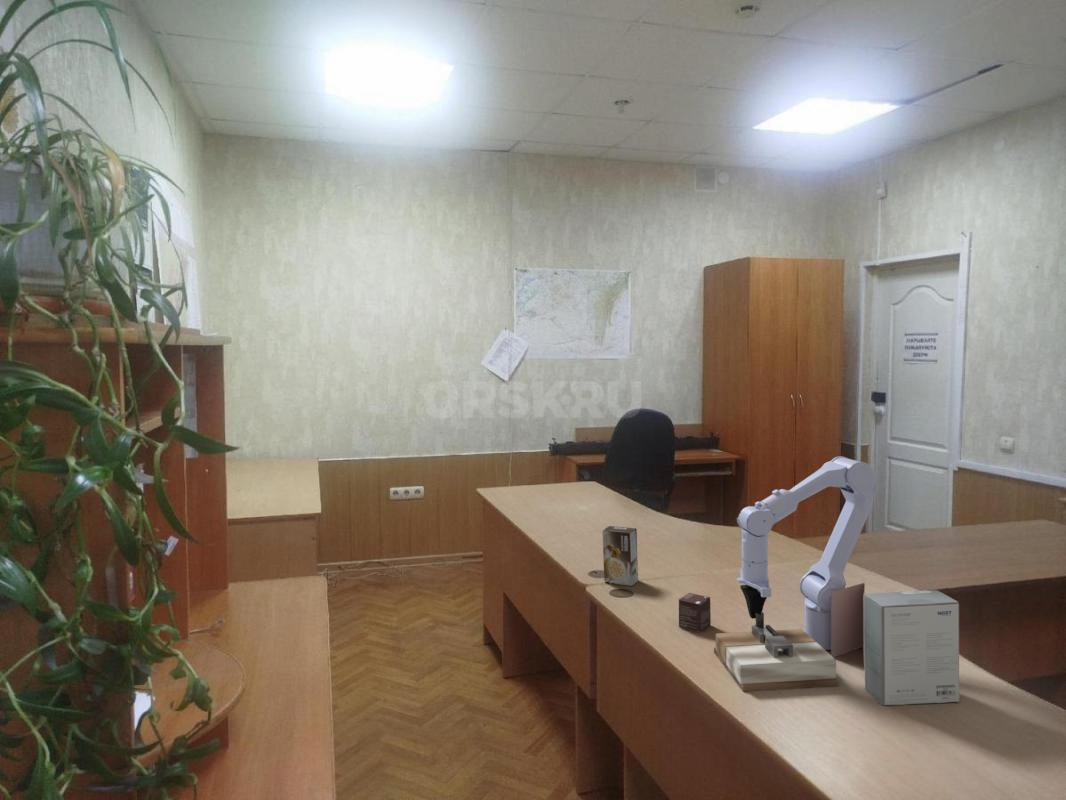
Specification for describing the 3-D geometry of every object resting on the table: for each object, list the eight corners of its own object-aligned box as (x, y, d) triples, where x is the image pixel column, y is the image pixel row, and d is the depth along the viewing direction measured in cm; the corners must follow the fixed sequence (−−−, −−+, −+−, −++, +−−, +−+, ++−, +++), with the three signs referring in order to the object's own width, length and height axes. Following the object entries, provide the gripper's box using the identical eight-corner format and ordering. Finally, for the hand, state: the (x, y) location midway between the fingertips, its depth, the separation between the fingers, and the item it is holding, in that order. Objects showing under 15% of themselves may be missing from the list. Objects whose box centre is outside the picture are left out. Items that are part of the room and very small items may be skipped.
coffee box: (639, 580, 218) (638, 528, 216) (631, 586, 212) (630, 533, 211) (610, 576, 222) (609, 525, 221) (603, 582, 216) (601, 530, 215)
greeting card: (860, 644, 167) (861, 581, 166) (890, 656, 160) (890, 590, 159) (827, 656, 161) (828, 591, 160) (857, 668, 155) (857, 600, 154)
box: (689, 620, 185) (689, 592, 184) (711, 625, 181) (711, 596, 181) (678, 627, 180) (677, 599, 180) (700, 633, 176) (700, 604, 176)
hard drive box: (937, 684, 147) (938, 589, 145) (960, 703, 139) (962, 602, 138) (862, 688, 146) (862, 592, 145) (881, 706, 139) (882, 605, 137)
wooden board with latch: (713, 652, 165) (713, 620, 165) (798, 647, 166) (798, 615, 166) (742, 691, 146) (742, 655, 146) (838, 685, 147) (838, 650, 147)
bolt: (754, 629, 164) (754, 611, 164) (762, 629, 164) (761, 611, 164) (765, 641, 157) (765, 622, 157) (773, 641, 157) (773, 622, 157)
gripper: (727, 551, 172) (727, 606, 173) (748, 570, 158) (749, 630, 159) (756, 550, 172) (756, 605, 173) (780, 568, 158) (780, 628, 159)
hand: (755, 617), depth 166 cm, fingers closed
